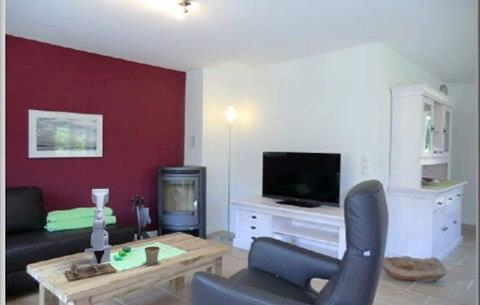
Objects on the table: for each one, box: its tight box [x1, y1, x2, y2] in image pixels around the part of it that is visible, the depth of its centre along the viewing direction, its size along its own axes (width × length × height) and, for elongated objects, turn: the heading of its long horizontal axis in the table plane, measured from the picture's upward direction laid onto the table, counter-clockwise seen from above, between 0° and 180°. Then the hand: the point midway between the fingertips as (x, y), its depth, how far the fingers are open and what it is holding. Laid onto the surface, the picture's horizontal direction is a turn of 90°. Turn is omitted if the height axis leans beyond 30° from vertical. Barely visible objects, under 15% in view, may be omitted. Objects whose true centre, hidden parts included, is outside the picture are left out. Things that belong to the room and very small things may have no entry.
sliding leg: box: [89, 260, 99, 270], centre depth 198 cm, size 3×8×3 cm, turn 35°
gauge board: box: [64, 262, 117, 282], centre depth 196 cm, size 24×14×6 cm, turn 125°
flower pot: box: [143, 246, 161, 265], centre depth 214 cm, size 9×9×9 cm
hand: (98, 263), depth 201 cm, fingers closed
